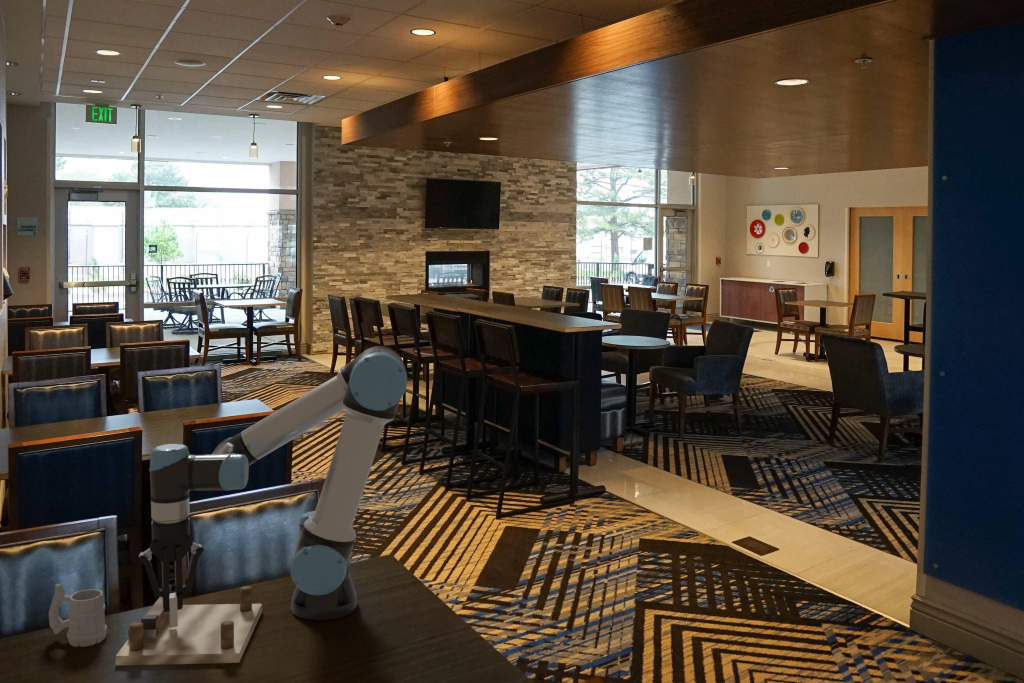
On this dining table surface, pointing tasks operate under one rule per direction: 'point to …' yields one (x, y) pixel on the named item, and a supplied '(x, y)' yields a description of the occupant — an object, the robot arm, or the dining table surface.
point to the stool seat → (195, 635)
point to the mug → (80, 616)
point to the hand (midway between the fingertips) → (173, 624)
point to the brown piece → (155, 616)
